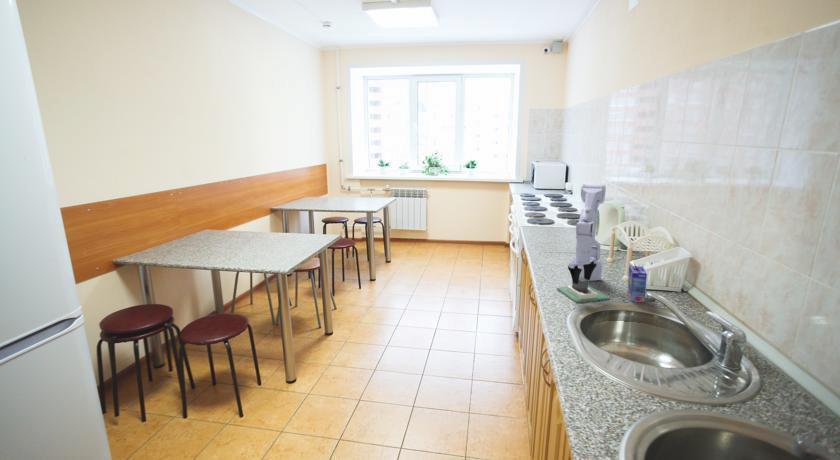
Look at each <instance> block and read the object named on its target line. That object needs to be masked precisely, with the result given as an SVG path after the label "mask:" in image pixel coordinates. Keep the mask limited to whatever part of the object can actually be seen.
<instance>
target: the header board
mask: <svg viewBox="0 0 840 460" xmlns="http://www.w3.org/2000/svg"><path fill="white" fill-rule="evenodd" d="M556 290H557V291H558V292H559V293H561V294H562V295H564V296H566V297H567V298H568V299H569V300H571V301H573V302H574V303H575V304H579V303H588V301H590V302H598V300H600V301H606V300H607V301H608V300H610V299H611V298H610V296H608V295H606V294H604V293H603V292H601V291H599V290H598V289H596V288H594V287H592V286H591V285H589V284H588V293H587V294H584V293H582V292H578V291H576V290H575V289H573V288H572V284H571V285H566V286H564V287H556Z"/></svg>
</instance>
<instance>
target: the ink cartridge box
mask: <svg viewBox="0 0 840 460" xmlns="http://www.w3.org/2000/svg"><path fill="white" fill-rule="evenodd" d="M647 277H648V274H647V271H646V270H645V268H644V266H640V265H639V266H638V265H637V264H636V263H635V262H633V265H629V266H628V278H627V295H628V298H629V300H630V302H638V303H646V292H647V291H646V290H647V279H648V278H647Z"/></svg>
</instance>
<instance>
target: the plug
mask: <svg viewBox="0 0 840 460" xmlns="http://www.w3.org/2000/svg"><path fill="white" fill-rule="evenodd" d="M571 285H572V288H573V289H575V290H576V291H578V292H582V293H584V294H587V293H588V285H589V281H588V280H587V279H584V278H581V277H579V281H578V284H575V283H573V282H572V283H571Z"/></svg>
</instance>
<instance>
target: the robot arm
mask: <svg viewBox="0 0 840 460" xmlns="http://www.w3.org/2000/svg"><path fill="white" fill-rule="evenodd" d="M606 190H607V188H606V185H605V184H585V183H584V184H582V185H581V187H580V198H581V201H582V203H584V208H583V209H581V210H580V215H579V220H578V222H576V225H575V233H576V235H575V236H576V237H575V239H576V242H575V243H576V245H575V246H576V247H575V257H574V258H573V259H572V261H571V262H569V263H568V266H567V269H568V271H569V273H570V276H571V277H570V278H571V280H572V283H575V284H578V281H579V277H581V278H584V279H587V280H588V282H591V281H592V282H593V281H602V280H603V278H602V271H603V269H602V268H603V265H602V262H601V260H600V259H601V250H602V249H601V243H599V242H598V241H597V240H596V231H597V221H598V219H597V218H598V208H599V206H600V205H601V204H605V203H604V202H605V199H606V198H605V197H606Z"/></svg>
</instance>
